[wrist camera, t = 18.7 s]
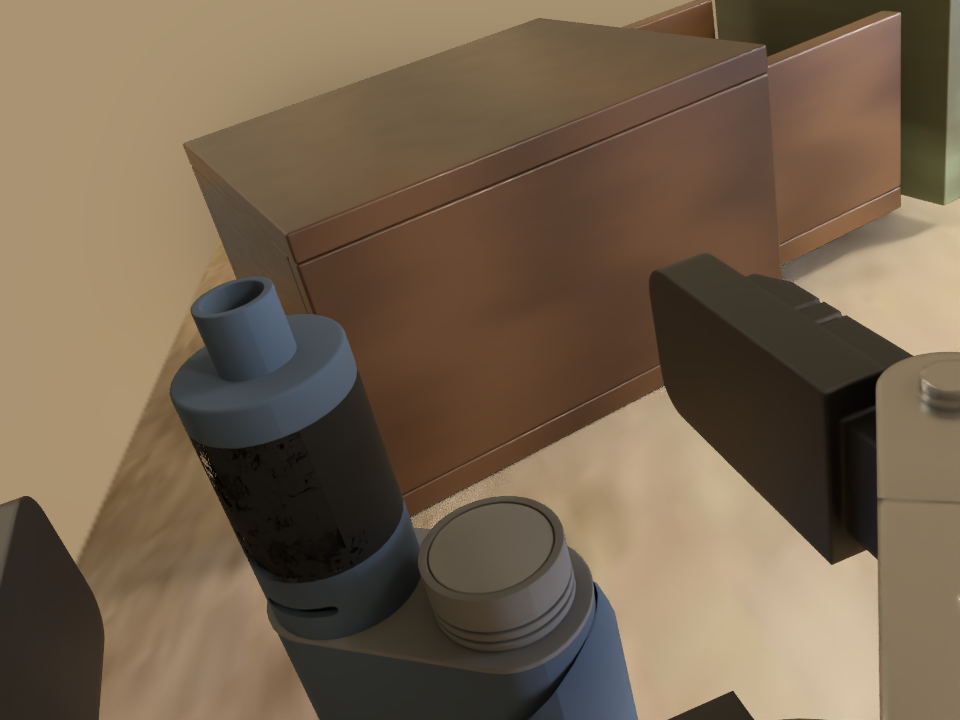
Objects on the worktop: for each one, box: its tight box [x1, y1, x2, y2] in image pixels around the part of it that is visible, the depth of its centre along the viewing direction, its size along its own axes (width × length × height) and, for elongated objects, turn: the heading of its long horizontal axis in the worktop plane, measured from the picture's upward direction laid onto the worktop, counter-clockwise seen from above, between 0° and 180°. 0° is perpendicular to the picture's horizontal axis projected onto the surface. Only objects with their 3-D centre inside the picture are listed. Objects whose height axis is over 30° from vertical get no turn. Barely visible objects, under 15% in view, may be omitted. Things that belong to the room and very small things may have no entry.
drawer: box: [622, 0, 960, 266], centre depth 35 cm, size 18×11×7 cm, turn 118°
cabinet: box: [183, 18, 782, 517], centre depth 31 cm, size 15×13×9 cm
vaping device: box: [170, 276, 638, 720], centre depth 14 cm, size 3×5×12 cm, turn 69°
